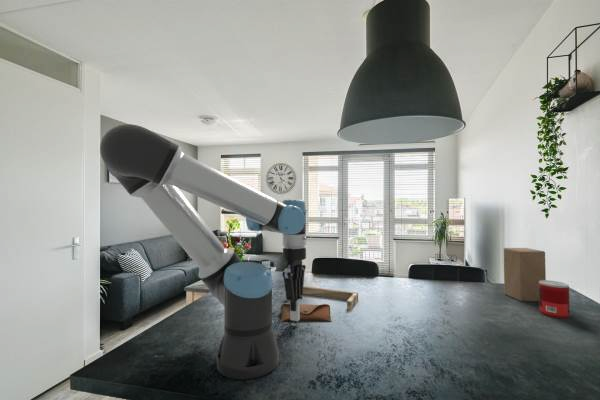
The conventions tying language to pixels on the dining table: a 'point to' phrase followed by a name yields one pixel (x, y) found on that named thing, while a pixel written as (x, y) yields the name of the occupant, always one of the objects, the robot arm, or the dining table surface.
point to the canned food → (554, 299)
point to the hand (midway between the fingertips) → (295, 319)
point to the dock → (333, 294)
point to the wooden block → (523, 273)
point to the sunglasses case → (308, 313)
